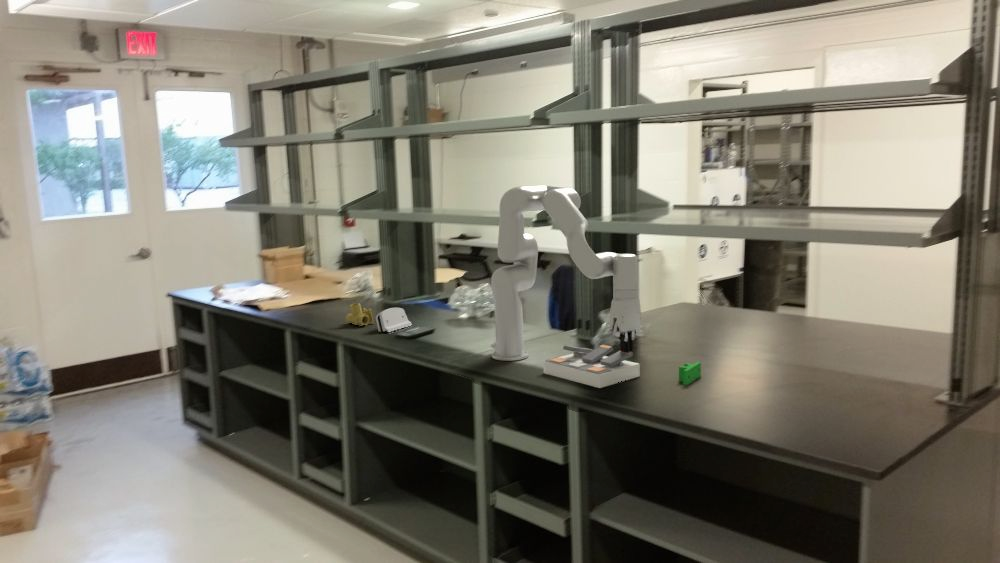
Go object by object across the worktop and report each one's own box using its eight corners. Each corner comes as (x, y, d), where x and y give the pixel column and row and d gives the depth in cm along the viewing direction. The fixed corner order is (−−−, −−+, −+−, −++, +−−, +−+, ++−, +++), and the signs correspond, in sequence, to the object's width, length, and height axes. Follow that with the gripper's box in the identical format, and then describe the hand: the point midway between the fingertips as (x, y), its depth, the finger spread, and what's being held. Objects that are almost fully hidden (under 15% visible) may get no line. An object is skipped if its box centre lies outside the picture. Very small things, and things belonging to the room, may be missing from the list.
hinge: (388, 333, 308) (380, 310, 309) (379, 336, 311) (372, 313, 311) (413, 326, 323) (405, 303, 323) (404, 328, 325) (397, 306, 325)
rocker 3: (600, 364, 232) (600, 360, 232) (622, 353, 238) (621, 349, 238) (611, 367, 229) (610, 363, 228) (633, 355, 235) (632, 351, 234)
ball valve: (361, 330, 321) (380, 323, 328) (356, 307, 319) (376, 300, 326) (345, 328, 331) (365, 321, 337) (340, 305, 329) (360, 299, 335)
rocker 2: (582, 361, 238) (581, 357, 238) (603, 347, 244) (602, 344, 244) (592, 363, 235) (591, 359, 234) (613, 350, 241) (612, 346, 240)
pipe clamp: (689, 375, 235) (689, 360, 235) (700, 377, 233) (700, 362, 232) (674, 383, 226) (675, 368, 225) (687, 385, 224) (687, 370, 223)
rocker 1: (563, 349, 244) (563, 345, 244) (584, 351, 250) (585, 347, 250) (572, 351, 240) (573, 347, 240) (594, 354, 247) (594, 350, 247)
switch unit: (543, 373, 242) (543, 357, 241) (583, 362, 253) (583, 348, 252) (599, 388, 223) (599, 371, 223) (639, 376, 235) (639, 360, 234)
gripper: (632, 290, 241) (633, 346, 243) (599, 296, 231) (600, 355, 234) (651, 292, 235) (652, 350, 238) (618, 298, 225) (619, 359, 228)
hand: (626, 352), depth 236 cm, fingers closed
